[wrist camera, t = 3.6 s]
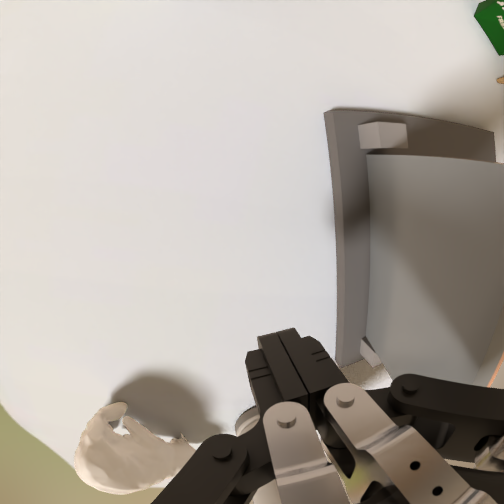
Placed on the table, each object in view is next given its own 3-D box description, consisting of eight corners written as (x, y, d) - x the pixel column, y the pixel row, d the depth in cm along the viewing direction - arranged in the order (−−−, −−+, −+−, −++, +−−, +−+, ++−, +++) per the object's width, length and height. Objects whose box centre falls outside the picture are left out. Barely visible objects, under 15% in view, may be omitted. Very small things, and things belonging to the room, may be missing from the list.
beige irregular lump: (78, 468, 10) (226, 494, 15) (89, 384, 18) (207, 422, 23) (68, 488, 11) (192, 512, 16) (76, 417, 19) (180, 449, 24)
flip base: (323, 112, 16) (350, 103, 13) (485, 132, 19) (508, 133, 16) (335, 359, 22) (352, 383, 19) (476, 294, 26) (494, 304, 23)
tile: (366, 154, 16) (520, 167, 4) (391, 154, 16) (542, 170, 4) (365, 335, 20) (431, 451, 9) (386, 330, 20) (458, 436, 9)
